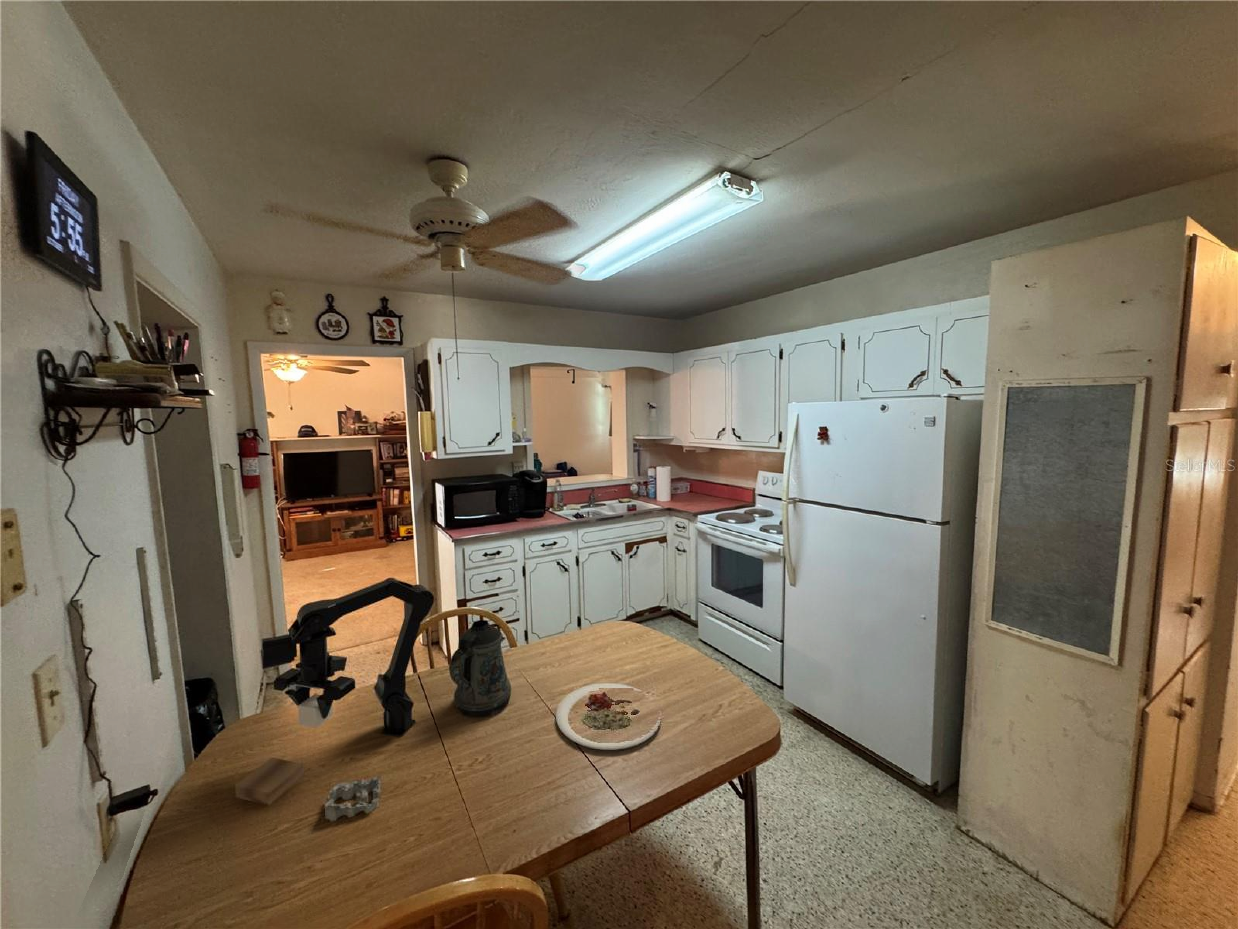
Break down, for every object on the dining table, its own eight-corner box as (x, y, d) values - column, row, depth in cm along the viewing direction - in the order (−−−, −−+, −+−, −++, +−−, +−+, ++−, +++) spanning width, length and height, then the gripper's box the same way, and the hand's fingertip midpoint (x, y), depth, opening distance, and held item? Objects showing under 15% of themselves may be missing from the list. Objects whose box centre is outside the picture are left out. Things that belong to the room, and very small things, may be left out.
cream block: (332, 715, 122) (332, 697, 122) (316, 728, 117) (315, 708, 117) (315, 712, 123) (315, 694, 123) (298, 724, 118) (298, 705, 118)
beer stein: (515, 686, 155) (515, 611, 152) (503, 726, 135) (502, 640, 133) (463, 686, 154) (462, 610, 151) (443, 725, 135) (441, 639, 132)
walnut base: (303, 775, 116) (303, 763, 115) (269, 805, 107) (268, 792, 107) (272, 769, 117) (271, 757, 117) (236, 797, 109) (235, 785, 108)
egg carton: (321, 825, 103) (320, 807, 102) (331, 797, 110) (330, 781, 109) (377, 814, 105) (376, 797, 105) (383, 788, 113) (382, 772, 112)
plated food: (618, 773, 119) (618, 760, 119) (533, 723, 137) (533, 712, 137) (680, 714, 143) (680, 703, 143) (601, 678, 161) (601, 668, 161)
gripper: (370, 645, 124) (371, 703, 126) (308, 636, 128) (310, 692, 130) (336, 667, 113) (338, 730, 115) (270, 657, 117) (273, 717, 119)
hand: (315, 716), depth 120 cm, fingers closed on cream block, 5 cm apart
